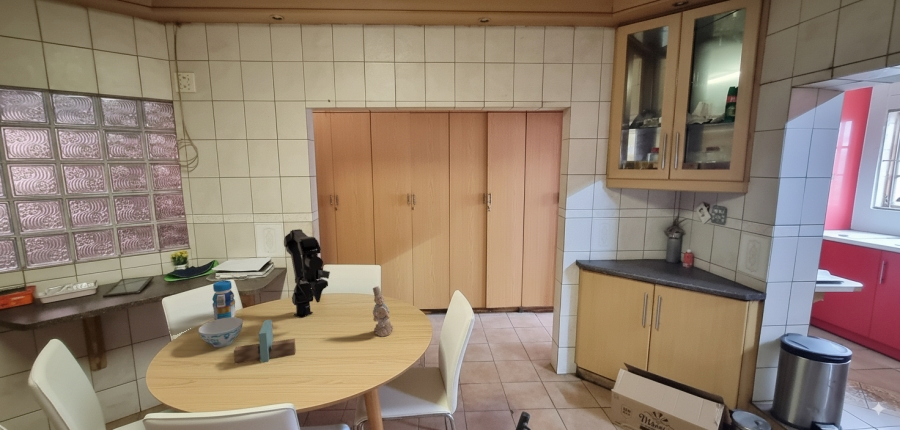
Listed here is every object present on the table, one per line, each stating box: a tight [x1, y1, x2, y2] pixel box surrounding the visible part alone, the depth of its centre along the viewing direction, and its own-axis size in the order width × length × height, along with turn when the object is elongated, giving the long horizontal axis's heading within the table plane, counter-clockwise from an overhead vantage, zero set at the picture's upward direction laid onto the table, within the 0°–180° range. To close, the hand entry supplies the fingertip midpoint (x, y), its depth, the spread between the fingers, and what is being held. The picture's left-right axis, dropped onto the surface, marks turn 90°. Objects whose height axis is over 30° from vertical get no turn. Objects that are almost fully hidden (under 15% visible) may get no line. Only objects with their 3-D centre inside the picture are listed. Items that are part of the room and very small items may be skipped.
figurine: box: [372, 285, 394, 337], centre depth 150 cm, size 9×8×20 cm
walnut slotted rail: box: [233, 338, 297, 364], centre depth 131 cm, size 20×3×5 cm, turn 108°
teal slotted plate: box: [258, 319, 274, 363], centre depth 133 cm, size 12×2×11 cm, turn 18°
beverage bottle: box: [212, 280, 237, 320], centre depth 157 cm, size 8×8×20 cm
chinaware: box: [198, 316, 244, 348], centre depth 142 cm, size 15×15×8 cm
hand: (312, 300), depth 157 cm, fingers open, 9 cm apart
